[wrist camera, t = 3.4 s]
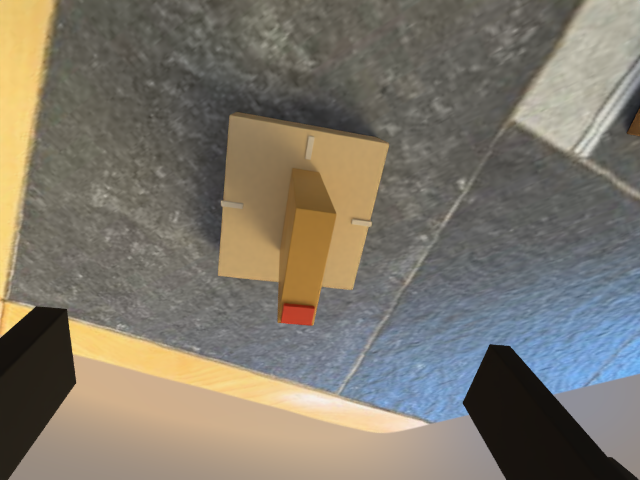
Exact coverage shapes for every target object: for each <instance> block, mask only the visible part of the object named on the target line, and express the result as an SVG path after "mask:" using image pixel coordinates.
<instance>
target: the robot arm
mask: <svg viewBox="0 0 640 480" xmlns="http://www.w3.org/2000/svg"><path fill="white" fill-rule="evenodd" d="M75 384H76V377H75V369H74V362H73V354H72V346H71V338H70V330H69V323H68V315H67V309H61V308H49V307H37V306H36V307H35V308H34V309H33V310H32V311H30V312H29V313H28V314H27V315H26V316H25V317H24V318H23V319H21V320H20V321H19V322H18V323H17V324H16V325H15V326H13V327H12V328H11V329H10V330H9V331H8V332H7V333H6V334H4V335H3V336H2V337H1V338H0V480H8V479H9V477H10V476H11V475H12V473H13V472H14V470H15V469H16V467H17V466H18V465H19V463H20V462H21V460H22V459H23V457H24V456H25V455H26V453H27V452H28V450H29V449H30V447H31V446H32V445H33V443H34V442H35V441H36V439H37V437H38V436H39V435H40V433H41V432H42V431H43V429H44V428H45V426H46V425H47V423H48V422H49V420H50V419H51V418H52V416H53V415H54V414H55V412H56V411H57V409H58V408H59V406H60V405H61V404H62V402H63V401H64V399H65V398H66V397H67V395H68V394H69V392H70V390H71V389H72V388H73V387H74V385H75ZM463 405H464V406H465V408H466V410H467V412H468V413H469V415H470V417H471V419H472V420H473V422H474V424H475V426H476V427H477V429H478V431H479V433H480V434H481V436H482V438H483V439H484V441H485V443H486V445H487V447H488V448H489V450H490V452H491V453H492V455H493V457H494V459H495V460H496V462H497V464H498V466H499V468H500V469H501V471H502V473H503V475H504V476H505V478H506V480H638V479H637V477H635V476H634V475H633V474H632V473H631V472H629V471H628V470H627V469H626V468H624V467H623V466H622V465H621V464H620V463H618V462H617V461H616V460H615V459H613V458H612V457H607V456H606V455H605V454H604V452H602V450H601V449H600V448H599V447H598V446H597V444H596V443H595V442H594V441H593V440H592V439H591V438H590V436H589V435H588V434H587V433H586V432H585V431H584V430H583V429H582V427H581V426H580V425H579V424H578V423H577V422H576V421H575V419H574V418H573V417H572V416H571V415H570V414H569V413H568V412H567V410H566V409H565V408H564V407H563V406H562V405H561V404H560V402H559V401H558V400H557V399H556V398H555V397H554V396H553V394H552V393H551V392H550V391H549V390H548V389H547V388H546V386H545V385H544V384H543V383H542V382H541V381H540V380H539V379H538V377H537V376H536V375H535V374H534V373H533V372H532V371H531V369H530V368H529V367H528V366H527V365H526V364H525V363H524V361H523V360H522V359H521V358H520V357H519V356H518V355H517V354H516V352H515V351H514V350H513V349H512V348H511V347H510V346H504V345H492V344H490V345H489V347H488V349H487V351H486V354H485V356H484V358H483V360H482V362H481V364H480V367H479V369H478V371H477V373H476V375H475V377H474V379H473V382H472V384H471V386H470V388H469V390H468V392H467V395H466V397H465V399H464V401H463Z"/></svg>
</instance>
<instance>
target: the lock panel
mask: <svg viewBox="0 0 640 480" xmlns="http://www.w3.org/2000/svg"><path fill="white" fill-rule="evenodd" d="M388 147H389V143H387V142H385V141H383V140H381V139H379V138H378V137H373V136H367V135H362V134H356V133H351V132H345V131H340V130H334V129H329V128H323V127H318V126H312V125H307V124H301V123H296V122H290V121H285V120H279V119H274V118H268V117H263V116H257V115H252V114H246V113H241V112H235V113H233V114H231V115H230V116H229V129H228V142H227V156H226V170H225V183H224V197H223V200H221V206H223V211H222V224H221V238H220V252H219V265H218V276H226V277H236V278H245V279H254V280H264V281H273V282H279V256H280V246H281V239H282V232H283V226H284V219H285V212H286V206H287V199H288V192H289V185H290V179H291V172H292V168H296V169H302V170H308V171H314V172H319V173H320V175H321V177H322V180H323V182H324V185H325V187H326V189H327V192H328V194H329V197H330V199H331V201H332V204H333V206H334V209H335V211H336V214H337V215H336V220H335V225H334V230H333V234H332V239H331V244H330V249H329V253H328V258H327V263H326V268H325V272H324V277H323V282H322V287H329V288H338V289H348V290H352V289H353V286H354V282H355V278H356V274H357V270H358V266H359V262H360V258H361V254H362V250H363V246H364V242H365V238H366V234H367V231H368V227H371V224H372V221H370V219H371V215H372V211H373V207H374V203H375V199H376V195H377V191H378V187H379V183H380V179H381V175H382V171H383V167H384V163H385V159H386V155H387V151H388Z"/></svg>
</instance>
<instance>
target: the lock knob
mask: <svg viewBox="0 0 640 480" xmlns="http://www.w3.org/2000/svg"><path fill="white" fill-rule="evenodd" d="M336 215H337V214H336V211H335V209H334V206H333V204H332V201H331V199H330V197H329V194H328V192H327V189H326V187H325V185H324V182H323V180H322V177H321V175H320V173H319V172H314V171H308V170H302V169H296V168H292V172H291V179H290V185H289V192H288V199H287V206H286V212H285V219H284V226H283V232H282V239H281V246H280V256H279V288H278V323H288V324H299V325H310V326H313V324H314V320H315V315H316V310H317V306H318V301H319V296H320V291H321V287H322V282H323V277H324V272H325V268H326V263H327V258H328V253H329V249H330V244H331V239H332V234H333V230H334V225H335V220H336Z"/></svg>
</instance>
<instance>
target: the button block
mask: <svg viewBox="0 0 640 480" xmlns="http://www.w3.org/2000/svg"><path fill="white" fill-rule="evenodd" d="M627 134H630V135H635V136H640V108H639V110H638V112H637V114H636V116H635V118H634V120H633V122H632V124H631V126H630V128H629V130H628V132H627Z"/></svg>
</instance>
